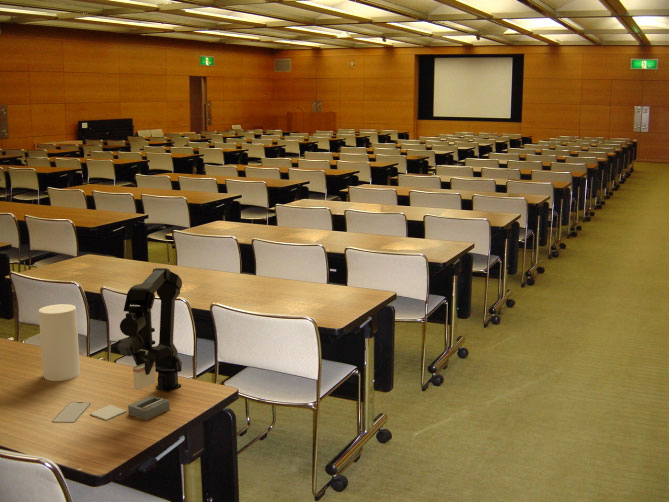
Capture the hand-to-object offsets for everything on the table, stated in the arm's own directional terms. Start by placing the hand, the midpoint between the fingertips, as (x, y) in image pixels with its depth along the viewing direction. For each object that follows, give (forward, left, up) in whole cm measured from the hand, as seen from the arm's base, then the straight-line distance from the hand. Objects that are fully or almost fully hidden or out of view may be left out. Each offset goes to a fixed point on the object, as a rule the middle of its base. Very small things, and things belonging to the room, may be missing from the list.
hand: (144, 373), depth 222 cm
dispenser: (-1, +1, -13) cm, 13 cm away
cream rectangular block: (0, 0, -4) cm, 4 cm away
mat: (+7, -9, -13) cm, 18 cm away
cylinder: (-6, -50, -13) cm, 52 cm away
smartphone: (+13, -19, -14) cm, 27 cm away
